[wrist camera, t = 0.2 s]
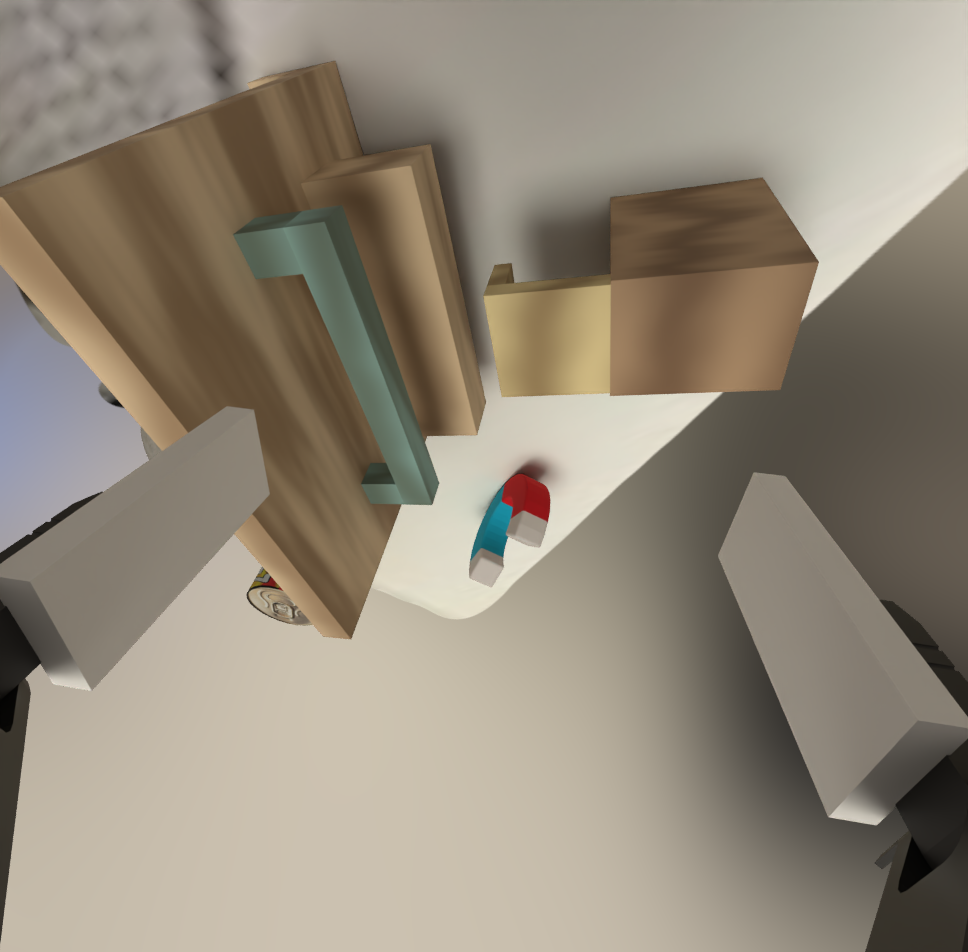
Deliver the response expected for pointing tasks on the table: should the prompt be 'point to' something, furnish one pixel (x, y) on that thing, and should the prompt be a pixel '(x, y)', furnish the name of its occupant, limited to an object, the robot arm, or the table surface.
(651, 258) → the cabinet
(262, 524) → the wall board
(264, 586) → the beverage can
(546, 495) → the magnet
